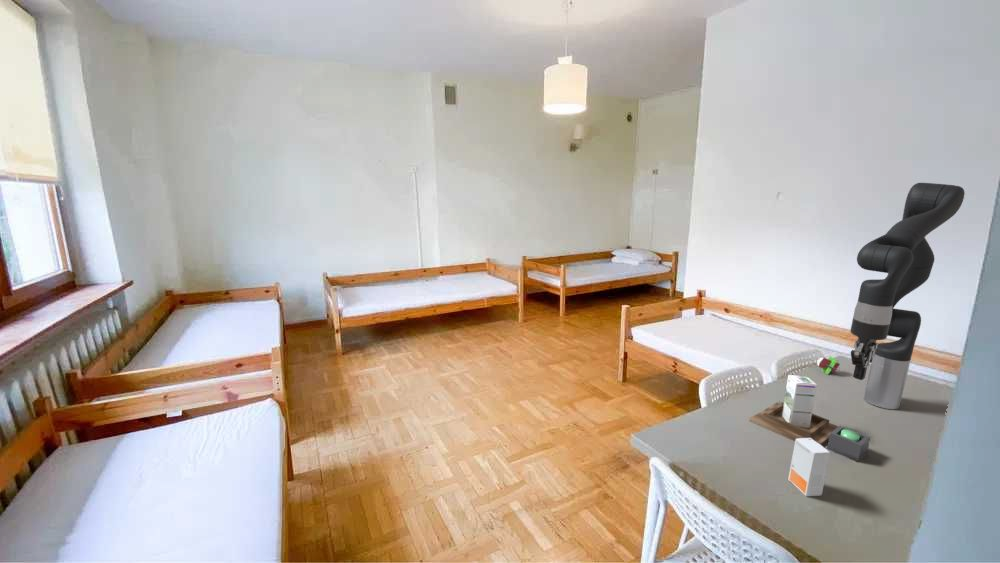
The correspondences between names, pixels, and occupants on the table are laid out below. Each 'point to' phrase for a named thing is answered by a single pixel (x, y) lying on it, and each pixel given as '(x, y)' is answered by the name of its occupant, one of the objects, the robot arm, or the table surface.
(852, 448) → the button housing
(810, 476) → the skincare box
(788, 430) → the brown wooden square tray
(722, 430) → the table surface
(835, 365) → the geometric puzzle
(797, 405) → the syrup box
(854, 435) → the button
